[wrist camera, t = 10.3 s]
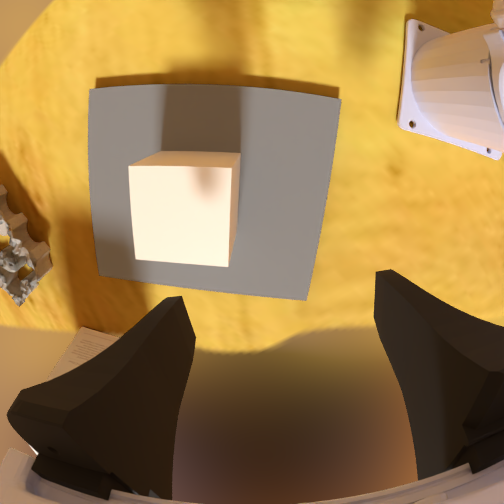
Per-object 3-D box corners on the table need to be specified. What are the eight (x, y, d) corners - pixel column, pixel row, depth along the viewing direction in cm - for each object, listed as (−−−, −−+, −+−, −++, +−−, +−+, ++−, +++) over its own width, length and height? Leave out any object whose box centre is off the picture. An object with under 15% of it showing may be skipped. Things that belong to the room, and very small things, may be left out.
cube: (240, 153, 18) (231, 168, 14) (237, 229, 20) (228, 266, 16) (160, 150, 18) (128, 165, 14) (163, 225, 20) (135, 259, 16)
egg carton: (-25, 215, 22) (-52, 230, 18) (1, 167, 20) (-30, 180, 16) (30, 296, 26) (8, 319, 22) (64, 261, 23) (39, 285, 20)
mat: (338, 99, 17) (341, 99, 16) (305, 294, 23) (306, 300, 23) (95, 89, 17) (89, 89, 16) (103, 270, 23) (99, 275, 23)
